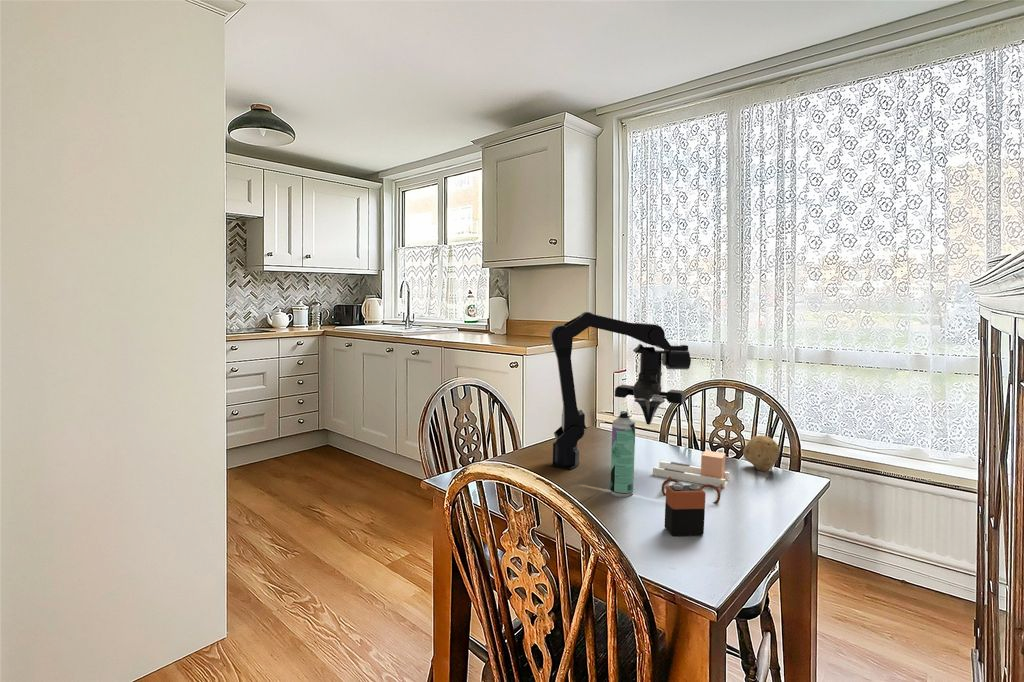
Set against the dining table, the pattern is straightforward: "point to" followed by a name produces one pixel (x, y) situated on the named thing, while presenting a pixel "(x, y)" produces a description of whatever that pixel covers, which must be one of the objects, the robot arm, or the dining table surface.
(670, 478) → the glasses
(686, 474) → the chute
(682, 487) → the battery
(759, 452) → the natural sponge
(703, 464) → the block
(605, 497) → the dining table surface
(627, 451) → the spray can
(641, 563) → the dining table surface
